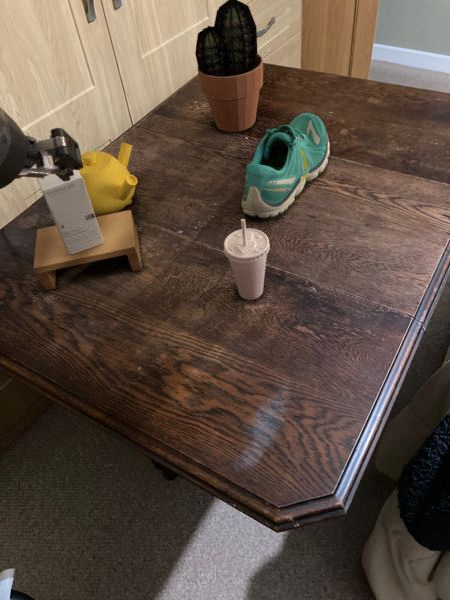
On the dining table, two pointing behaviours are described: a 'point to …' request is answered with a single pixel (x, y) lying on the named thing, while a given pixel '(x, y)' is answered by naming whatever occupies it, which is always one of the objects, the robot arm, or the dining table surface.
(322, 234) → the dining table surface
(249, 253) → the smoothie
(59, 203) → the cosmetic box
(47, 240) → the wooden display riser
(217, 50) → the potted plant
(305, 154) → the running shoe
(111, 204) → the teapot
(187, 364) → the dining table surface
